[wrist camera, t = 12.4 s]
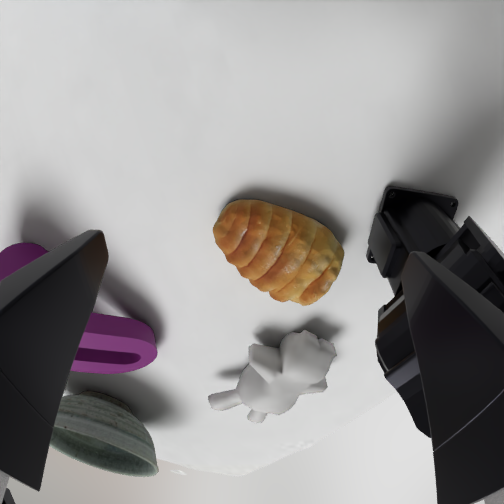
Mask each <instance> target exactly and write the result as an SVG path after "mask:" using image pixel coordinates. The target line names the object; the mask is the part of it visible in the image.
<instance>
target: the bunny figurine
mask: <svg viewBox="0 0 504 504" xmlns="http://www.w3.org/2000/svg"><path fill="white" fill-rule="evenodd" d="M336 355H337V354H336V351H335V347H334V344H333V343H331V342H329V341H326V340H324V339H319V340H318V339H317V336H316V335H314V334H312V333H310V332H308V331H306V330H303V331H302V332H301V333H293V332H292V333H289V334H287V335H286V336H285V337H284V338H283V339H282V341H281V344H280V347H279V348H274V347H269V346H264V345H259V344H252V345H251V346H249V365H248V366H247V367H246V368H245V369H244V370H243V372H242V374H241V377H240V379H239V382H238V385H237V387H236V389H234V390H229V391H224V392H220V393H215V394H211V395H210V396H208V400H209V403H210V406H211V408H212V409H213V410H217V411H223V410H227V409H230V408H232V407H235V406H237V405H240V404H242V403H243V404H244V405H246V406H248V407H249V408H251V411H250V413H249V414H248V416H247V418H248V420H249V421H251V422H253V423H261V422H263V421H264V419H265V417H266V415H267V413H270V414H276V415H280V414H283V413H285V412H286V411H288V410H289V409H290V408H291V407H292V406H293V405H294V404H295V403H296V401H297V399H298V397H299V395H303V394H310V393H319V392H324V390H325V389H326V388H327V382H326V378H325V376H326V374H327V372H328V371H329V368H330V365H331V362H332V359H333V358H334V357H335V356H336Z"/></svg>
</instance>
